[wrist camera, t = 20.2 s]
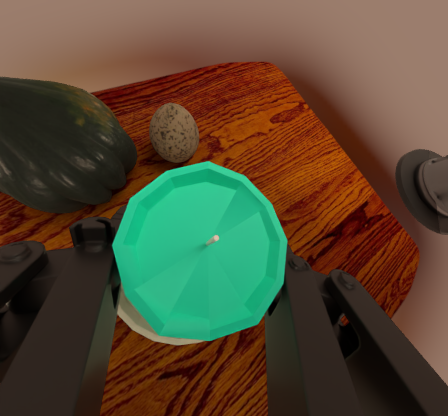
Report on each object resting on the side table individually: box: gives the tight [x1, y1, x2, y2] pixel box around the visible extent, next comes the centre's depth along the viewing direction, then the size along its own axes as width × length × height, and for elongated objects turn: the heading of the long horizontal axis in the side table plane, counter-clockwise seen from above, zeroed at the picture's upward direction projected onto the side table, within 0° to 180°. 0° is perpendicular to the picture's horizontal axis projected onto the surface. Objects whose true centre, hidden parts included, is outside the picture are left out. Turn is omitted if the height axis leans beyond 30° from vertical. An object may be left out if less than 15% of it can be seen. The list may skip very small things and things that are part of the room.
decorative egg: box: [149, 103, 199, 163], centre depth 26 cm, size 7×7×10 cm
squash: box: [0, 77, 137, 213], centre depth 22 cm, size 14×15×15 cm
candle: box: [112, 161, 287, 341], centre depth 10 cm, size 6×6×12 cm
